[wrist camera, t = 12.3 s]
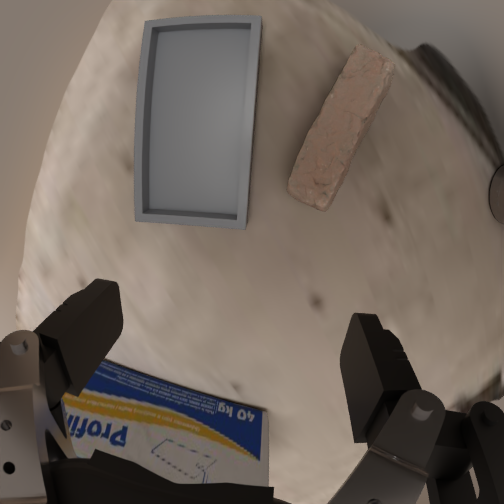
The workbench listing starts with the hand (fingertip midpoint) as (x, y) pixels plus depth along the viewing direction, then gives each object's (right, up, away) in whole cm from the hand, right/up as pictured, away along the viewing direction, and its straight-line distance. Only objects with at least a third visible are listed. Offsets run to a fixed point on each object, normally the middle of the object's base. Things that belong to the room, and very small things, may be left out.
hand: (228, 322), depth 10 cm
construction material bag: (-18, -23, +40) cm, 49 cm away
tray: (-5, +18, +22) cm, 29 cm away
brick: (+10, +16, +22) cm, 29 cm away
